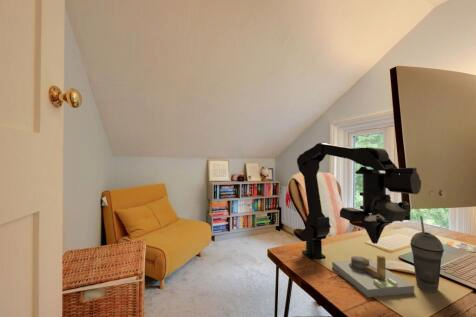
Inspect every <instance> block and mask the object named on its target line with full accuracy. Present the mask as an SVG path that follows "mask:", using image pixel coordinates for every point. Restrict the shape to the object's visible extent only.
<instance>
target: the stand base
mask: <svg viewBox="0 0 476 317" xmlns="http://www.w3.org/2000/svg"><path fill="white" fill-rule="evenodd" d="M367 259H368V258H367ZM368 260H369V265H370V266H372V267H374V268H376V269H377V262H374V261H373V260H371V259H368ZM331 264H332V265H331V266H332V267H333V268H332V269H334V270H335V271H336V272H337V271H338V272H339V273H338V272H337V273H338V274H339V275H340V276H342V277H343V278H344V279H345V280H347V281H348V282H349V283H350V284H352V285H353V286H354V287H355V288H356V289H358V290H359V291H360V292H361V293H362V294H363V295H365V296H366V297H367V298H375V297H377V298H378V297H387V296H397V295H398V296H399V295H411V294H415V285H413V284H412V283H410V282H408V281H407V280H405V279H404V278H402V277H400V276H398V275H397V274H395V273H393V272H391V271H389V270H388V269H387V268H385V274H386V279H385V280H382V279H379V278H377V277H376V276H374V275H372V274H370V273H368V272H366V271H365V270H359V269H356V268H354V267H353V266H352V265H351V260H337V261H335V260H334V261H332V263H331Z"/></svg>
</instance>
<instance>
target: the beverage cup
mask: <svg viewBox="0 0 476 317" xmlns="http://www.w3.org/2000/svg"><path fill="white" fill-rule="evenodd" d="M419 218H420V224H421V231H419V232H416V233H414V234H413V236H412V237H411V239H410V242H409V245H410V250H411V252H412V258H413V266H414V267H413V268H414V274H415V281H416V286H417V285H418V286H419V287H418V286H417V287H418V288H420V289H421V288H422V290H424V291H427V292H431V293H437V292H438V291H439V285H440V276H441V264H442V259H443V254H444V251H445V249H444V246H443V243H442V241H441V240H440V239H439V238H438V237H437V236H436V235H434V234H432V233H430V232H428V231H427V232H426V231H425V225H424V218H423V216H419Z"/></svg>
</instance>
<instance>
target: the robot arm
mask: <svg viewBox="0 0 476 317" xmlns="http://www.w3.org/2000/svg"><path fill="white" fill-rule="evenodd" d="M326 156H332V157H337V158H341V159H346V160H351V161H353V163H355V164H359V165H360V168H359V169H357V170H356V171H355V174H356V175H362V191H359V196H361V197H362V205H359V209H358V208H356V207H341V209H340V210H339V218H343V219H344V220H347V221H350V222H356V223H357V222H358V223H361V224H362V225H363V227H364V229H365V231H366V233H367V236H368V237H369V239H370V241H371V243H372V244H374V245H375V244H378V242H379V239H381V236H382V233H383V230H384V229H385V227H386V226H388V225H390V224H393V223H394V222H404V221H411V210H412V209H411V204H410V203H408V202H407V201H399V202H394V201H392V200H391V196H390V194H387V190H388V191H389V192H391V193H399V194H410V195H418V194H419V193H420V191H421V188H422V180H421V178H420V175H419V173H418V172H417V167H405V168H402V167H397V165H396V164H395V163H394V162H393V161H392V160H391V159H390V156H389V153H388V151H387V150H386V149H384V148H378V147H348V146H341V145H335V144H329V143H326V142H325V143H323V142H318V143H316V144H315V145H314V146H313V147H311V148H309V149H307V150H305V151H304V152H302V153H301V154H299V155H298V157H297V158H296V164H297V168H298V170H299V172H300V173H301V174H302V177H303V181H304V188H305V196H306V202H307V210H308V214H307V216H306V219H305V227H304V229H302V231H301V232H299V234H300V238H301V239H302V240H304V241H305V249H304V250H302V251H301V252H302V253H303V254H304V255H305V256H306V257H307V258H308V259H326V255H324V254H323V252H322V251H323V250H322V249H323V246H322V245H323V244H322V240H325V239H327V236H328V235H329V234H330V232H331V228H332V226H331V225H330V217H329V216H325V214H324V213H323V209H322V201H321V195H320V189H319V183H318V172H319V171H320V163H321V162H322V161H324V159H325V157H326ZM399 173H400V175H399ZM402 205H403V207H402Z"/></svg>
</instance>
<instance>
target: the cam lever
mask: <svg viewBox="0 0 476 317" xmlns="http://www.w3.org/2000/svg"><path fill="white" fill-rule="evenodd" d="M350 259H351V265H352V266H353V267H354V268H356V269H359V270H365V271H366V272H368V273H370V274H372V275H374V276H376V277H377V278H379V279H382V280H385V279H386V274H385V269H386V257H385V256H384V255H379V254H376V264H377V269H376V268H374V267H372V266H370V265H369V260H368V258H366V257H363V256H359V255H353V256H351V257H350Z"/></svg>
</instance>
